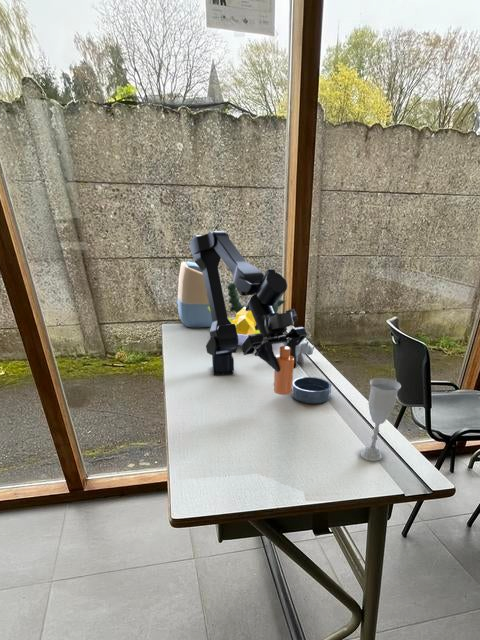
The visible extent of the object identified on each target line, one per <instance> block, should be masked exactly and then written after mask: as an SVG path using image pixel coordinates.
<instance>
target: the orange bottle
mask: <svg viewBox="0 0 480 640" xmlns="http://www.w3.org/2000/svg"><path fill="white" fill-rule="evenodd" d="M275 357H276V360H277V362H278V364H279V367H280V371H279V372H277V371H276V370H275V369H273V370H274V372H273V373H274V374H273V392H274V393H275V394H277V395H282V396H286V395H290V394H292V385H293V381H294V370H295V369H294V357H293V356H291V355H290V347H288V346H282V345H281V346H280V347H279V354H276V355H275Z"/></svg>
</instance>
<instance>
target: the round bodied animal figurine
mask: <svg viewBox="0 0 480 640" xmlns="http://www.w3.org/2000/svg"><path fill="white" fill-rule="evenodd" d="M280 344H281V346H284V345H283V343H280ZM314 349H315V345H314V344H313V345H311V344H310V343H309V341H308V339H307V338H305V339H304V340H303V341H302V342H301V343H300V344H299V345H297V346H296V363H298V362H299V355H300V354H303V355H304V354H306V355H308V356H311V355H312V354H313V353H314Z"/></svg>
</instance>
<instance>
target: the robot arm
mask: <svg viewBox="0 0 480 640" xmlns="http://www.w3.org/2000/svg"><path fill="white" fill-rule="evenodd" d="M189 248H190V252H191V254H192V258H193V261H194V263H196V264H197V265H198V266H199V268H200V269H201V270H202V273H203V278H204V283H205V288H206V292H207V297H208V302H209V307H210V311H211V316H212V321H213V323H212V326H211V327H210V329H209V337H210V338H209V339H208V341H207V343H206V345H205V350H206V353H207V354H209V355H210V356H211V361H212V362H211V363H212V364H211V365H212V366H211V370H212V373H213V375H214V376H215V375H216V376H218V375H219V376H220V375H233V374H234V371H235V358H234V355H233V354H236V353H237V351H238V347H239V345H238V341H239V340H238V335H237V331H236V326H235V324H232V323H231V322H230V321H229V320H228V317H229V316H228V311H227V307H226V302H225V297H224V292H223V286H222V282H221V276H220V270H219V266H220V262H221V260H222V262H223V263H224V264H225V266H226V267H227V269H228V270H229V272H231V275H232V276H233V281H234V285H235V287H236V291H237V293H238V294H239V295H240V296H241V297H247V296H251V297H250V299H247V300H246V301H247V302H246V305H245V306H246V311H251V312H252V315H253V317H254V319H255V322H256V325H255V329H256V330H259V331H260V333H258V334H251V335H248V336H247V338H246V339H245V341H244V342H243V343H242V346H240V347H241V351H242V353H243V355H244V356H249V355H254V356H255V357H258V358H259V359H261V360H263V361H264V362H265V363H267V364H268V365H269V367H271V368H272V369H273V370H274V369H275V370H276V371H277V372H279V371H280V367H279V364H278V362H277V360H276V357H275V356H276V355H275V353H274V350H273V345H276V344H281V343H283V345H284V346H288V347H290V355H291V356H293V357H294V370H295V369H296V368H297V362H296V346H297V345H299V344H300V343H301V342H303V341H305V340H306V339H307V337H308V335H309V334H308V332H307V330H306V328H305V327H303V326H298V327H294V326H295V323H296V322H298V319H299V318H298V313H297V312H296V310H295V308H291V309H288V310H285V312H282V313H281V312H280V313H279V312H277V313H275V312H274V310H273V308H272V306H274V305H275V304H276V303H277V302H278V301H279V300H281V298H282V297H283V295H284V294H285V293H286V291H287V289H288V282H287V280H286V278H284V276H282V274H281V273H278V272H276V270H275V268H268V269H266V271H265V273H263V272H262V271H261V270H260V269H259V268H258V267H257V266H255V265H253V264H251V263H249V262H247V260H246V259H245V258H244V256H243V255H242V254H241V252H240V251H239V249H238V248H237V246H236V245H235V244H234V243H233V242H232V240H231V239H230V236H229V233H227V231H225V230H212V231H210V232H207V233H206V234H196V235H193V236H192V239H191V240H190V242H189ZM290 326H292V328H291V329H290V330H289V332H288V333H286V332H287V330H288V327H290ZM284 333H285V334H284Z"/></svg>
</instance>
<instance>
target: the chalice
mask: <svg viewBox="0 0 480 640" xmlns="http://www.w3.org/2000/svg"><path fill="white" fill-rule="evenodd" d="M369 385H370V390H369V397H368V404H367V405H368V411H369V415H370V418H371V421H372V423H374V428H373V429H372V432H373V434H372V435H371V437H370V438H371V443H369V444H368V445H366V446H365V447H364V448H363V449H362V451H361V453H360V456H361V457H362V459H364V460H366V461H370V462H377V461H380V460H381V459H383V458H382V453H381V449H380V446H379V445H377V440H379V436H378V434H379V433H380V425H382V424H384V423H385V422H386V421H387V419H388V418H389V416H391V414H392V412H393V410H394V408H395V405H396V401H397V396H398V392H399V391H400V389H401V387H402V385H401V383H400V382H399V381H397V380H395V379H393V378H387V377H374V378H371V379H370V381H369Z"/></svg>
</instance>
